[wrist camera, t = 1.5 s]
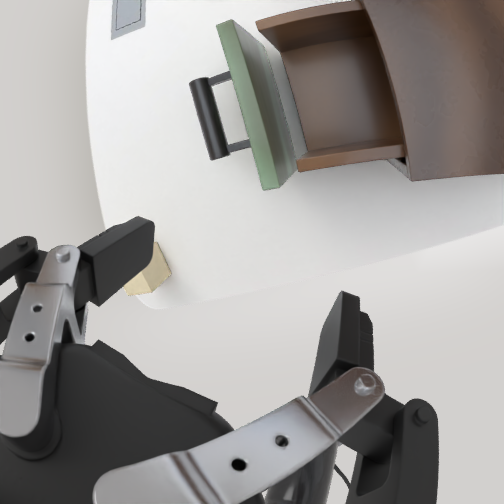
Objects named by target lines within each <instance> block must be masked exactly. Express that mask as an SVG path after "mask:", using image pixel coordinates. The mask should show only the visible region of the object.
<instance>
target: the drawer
mask: <svg viewBox="0 0 504 504" xmlns="http://www.w3.org/2000/svg"><path fill="white" fill-rule="evenodd" d="M256 25H257V28H258V31H259V32H260V33H261V34H262V35H263V36H264V37H265V38H266V39H267V40H268V41H269V42H270V43H271V44H272V45H273V46H274V47H275V48H276V49H277V50H278V51H279V52H280V54H281V57H282V60H283V63H284V66H285V69H286V73H287V76H288V79H289V83H290V86H291V90H292V93H293V97H294V100H295V104H296V107H297V111H298V115H299V118H300V122H301V126H302V130H303V134H304V138H305V142H306V146H307V150H308V151H307V152H306V153H305V154H304V155H302V156H301V157H300V158H298V159H297V160H296V157H295V153H294V149H293V145H292V141H291V137H290V133H289V129H288V125H287V122H286V118H285V114H284V111H283V107H282V103H281V100H280V96H279V93H278V89H277V86H276V83H275V79H274V76H273V73H272V69H271V66H270V63H269V60H268V57H267V53H266V50H265V47H264V46H263V45H262V44H261V43H260V42H259V41H258V40H257V39H255V38H254V37H253V36H252V35H251V34H250V33H248V32H247V31H246V30H245V29H244V28H242V27H241V26H240V25H239V24H237V23H236V22H235V21H234V20H229V21H226V22H223V23H221V24H218V25H216V27H217V31H218V34H219V37H220V40H221V44H222V47H223V50H224V54H225V57H226V60H227V64H228V67H229V70H230V71H228V72H225V73H222V74H219V75H217V76H214V77H211V78H208V77H203V78H198V79H195V80H193V81H191V82H190V83H189V86H190V90H191V93H192V97H193V100H194V104H195V108H196V111H197V115H198V118H199V122H200V125H201V129H202V132H203V136H204V139H205V143H206V146H207V150H208V153H209V157H210V160H215V159H219V158H222V157H226V156H229V155H230V152H234V151H238V150H242V149H245V148H249V147H251V148H252V152H253V155H254V159H255V163H256V167H257V170H258V174H259V178H260V182H261V186H262V189H263V190H264V191H265V190H270V189H275V188H280V187H281V186H282V185H283V184H284V183H285V182H286V181H287V180H288V179H289V178H290V177H291V176H292V175H293V173H294V172H295V171H296V170H297V169H298V172H304V171H310V170H316V169H322V168H328V167H334V166H340V165H347V164H354V163H360V162H368V161H375V160H383V159H391V158H400V157H405V151H404V145H403V140H402V134H401V129H400V124H399V120H398V115H397V111H396V106H395V102H394V98H393V94H392V91H391V87H390V83H389V80H388V76H387V73H386V69H385V66H384V63H383V60H382V57H381V54H380V51H379V48H378V45H377V42H376V39H375V37H374V34H373V31H372V29H371V26H370V23H369V21H368V18H367V16H366V14H365V11H364V9H363V7H362V4H361V2H360V0H355V1H346V2H339V3H332V4H326V5H320V6H315V7H310V8H305V9H300V10H296V11H291V12H287V13H283V14H279V15H276V16H272V17H268V18H265V19H262V20H258V21H256ZM231 79H232V81H233V84H234V87H235V91H236V94H237V98H238V101H239V105H240V108H241V112H242V115H243V119H244V123H245V126H246V130H247V133H248V137H249V139H248V140H244V141H241V142H237V143H233V144H230V145H228V143H227V139H226V136H225V132H224V129H223V125H222V122H221V118H220V114H219V111H218V107H217V104H216V100H215V97H214V93H213V90H212V86H214V85H217V84H220V83H223V82H226V81H228V80H231Z"/></svg>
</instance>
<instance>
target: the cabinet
mask: <svg viewBox="0 0 504 504" xmlns="http://www.w3.org/2000/svg"><path fill="white" fill-rule="evenodd" d="M351 1H355V0H351ZM360 2H361V4H362V7H363V9H364V11H365V14H366V16H367V18H368V21H369V23H370V26H371V29H372V31H373V34H374V37H375V39H376V42H377V45H378V48H379V51H380V54H381V57H382V60H383V63H384V66H385V69H386V73H387V76H388V80H389V83H390V87H391V91H392V94H393V98H394V102H395V106H396V111H397V115H398V120H399V124H400V129H401V134H402V140H403V145H404V151H405V157H400V158H391V159H387V161H388V162H390V163H391V164H392V165H393V166H394V167H396V168H397V169H398V170H399V171H400V172H402V173H403V174H404V175H405V176H406V177H407V178H409V180H411V181H421V180H430V179H440V178H451V177H463V176H475V175H490V174H504V0H360Z"/></svg>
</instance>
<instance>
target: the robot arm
mask: <svg viewBox="0 0 504 504" xmlns="http://www.w3.org/2000/svg"><path fill="white" fill-rule="evenodd" d="M154 232H155V225H154V222H152V221H150V220H147V219H145V218H142V217H139V216H137V217H135V218H133V219H131V220H129V221H128V222H126V223H123V224H119V225H115V226H113V227H111V228H109V229H107V230H106V231H105V232H102V233H101V234H99V236H95V237H93V238H92V239H90V240H88V241H87V242H85V243H83V244H82V245H80V246H78V247H75V246H72V245H61V246H57V247H55V248H53V249H51V250H50V251H49V252H46V251H41V250H38V245H37V241H36V239H35V238H34V237H31V236H23V237H19V238H17V239H15V240H13V241H11V242H10V243H8V244H7V245H5V246H4V247H2V248H0V285H2V284H3V283H4V282H6V281H7V280H8V279H10V278H11V277H12V276H15V279H16V283H17V286H18V288H17V290H15V291H14V292H13V293H11V294H10V295H9V296H7V297H6V298H5V299H4V300H3V301H1V302H0V344H1V343H2V342H3V341H4V340H5V339H6V338H7V339H6V343H5V347H4V350H3V354H2V355H0V504H326V502H327V498H328V494H329V489H330V485H331V480H332V475H333V470H334V469H335V470H336V472H337V473H338V474H339V475H340V476H341V477H342V478H343V480H344V481H345V483H346V484H347V486H348V488H349V493H348V496H347V500H346V504H436V500H437V488H438V466H439V440H438V439H439V438H438V437H439V436H438V418H437V414H436V412H435V410H434V409H433V407H432V406H431V405H430V404H429V403H427V402H426V401H424V400H422V399H412V400H410V401H409V402H407V403H406V404H405V405H403V404H401V403H400V402H398V401H396V400H395V399H393V398H391V397H389V396H388V395H386V394H385V388H384V384H383V382H382V380H381V378H380V377H379V376H378V375H377V374H376V373H375V372H374V349H373V335H372V334H373V326H372V322H371V320H370V318H369V316H368V314H367V313H364V312H361V311H360V298H359V297H358V296H355V295H352V294H350V293H347V292H344V291H341V292H340V293H339V295H338V297H337V299H336V301H335V303H334V305H333V307H332V309H331V311H330V313H329V315H328V317H327V319H326V321H325V323H324V325H323V328H322V331H321V335H320V340H319V345H318V351H317V357H316V362H315V366H314V371H313V376H312V381H311V386H310V390H309V394H308V397H307V398H305V397H304V396H300V397H297V398H295V399H293V400H292V401H290V402H288V403H287V404H285V405H283V406H281V407H279V408H277V409H276V410H274V411H272V412H270V413H268V414H266V415H264V416H262V417H261V418H259V419H257V420H255V421H253V422H251V423H249V424H247V425H245V426H243V427H240V428H239V429H236V430H234V429H233V428H232V427H231V425H230V424H229V423H228V422H227V421H226V420H225V419H223V417H221V416H220V415H219V414H217V413H216V412H215V410H216V407H217V404H218V402H215V401H213V400H210V399H208V398H206V397H204V396H201V395H199V394H197V393H195V392H193V391H191V390H188V389H186V388H184V387H180V386H175V385H172V384H168V383H164V382H160V381H157V380H153V379H150V378H148V377H146V376H145V375H144V374H143V373H142V372H141V371H140V370H138V369H137V368H136V367H135V366H134V365H133V364H132V363H131V362H130V361H129V360H128V359H127V358H126V357H125V356H124V355H123V354H121V353H119V352H118V351H116V350H115V349H113V348H111V347H110V346H108V345H107V344H105V343H103V342H102V341H100V340H98V341H97V342H96V343H95V344H94V345H93V346H89V345H85V333H86V322H87V314H88V305H87V302H88V301H90V302H92V303H94V304H95V305H97V306H98V307H99V306H101V305H102V304H103V303H104V302H105V301H106V300H108V299H109V298H110V297H111V296H112V295H113V294H115V293H116V292H117V291H118V290H119V289H120V288H122V287H123V286H124V285H125V284H126V283H128V282H129V281H130V280H131V279H132V278H134V277H135V276H136V275H137V274H139V273H140V272H141V271H142V270H143V269H145V268H146V267H147V266H148V265H149V263H150V262H151V260H152V257H153V247H154ZM339 442H340V443H342V444H344V445H346V446H347V447H349V448H351V449H353V450H354V451H356V452H357V457H356V462H355V467H354V471H353V476H352V480H351V484H350V483H349V481H348V479H347V478H346V476H345V475H344V474H343V473H342V472H341V471H340V469H339V468H338V467H337V466H336V464H335V459H336V454H337V448H338V444H339ZM267 489H268V491H267V494H266V496H265V499H264V498H263V496H262V492H264V491H265V490H267Z"/></svg>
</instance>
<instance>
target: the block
mask: <svg viewBox="0 0 504 504" xmlns="http://www.w3.org/2000/svg"><path fill="white" fill-rule="evenodd" d="M170 275H171V272H170V270H169V267H168V265H167V263H166V261H165V259H164V257H163V255H162V252H161V250H160V248H159V246H158V244H157V242H155V243H154V247H153V257H152V260H151V262H150V263H149V265H148V266H147V267H146V268H145V269H143V270H142V271H141V272H140V273H139V274H137V275H136V276H135V277H134V278H132V279H131V280H130V281H129V282H128V283H126V284H125V285H124V286H123V287H124V289H125V291H126V293H127V295H128V296H131V295H138V294H145V293H151V292H153V291H154V290H155V289H156V288H157V287H158V286H159V285H160V284H161V283H162V282H163V281H164V280H166V279H167V278H168V277H169V276H170Z"/></svg>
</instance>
